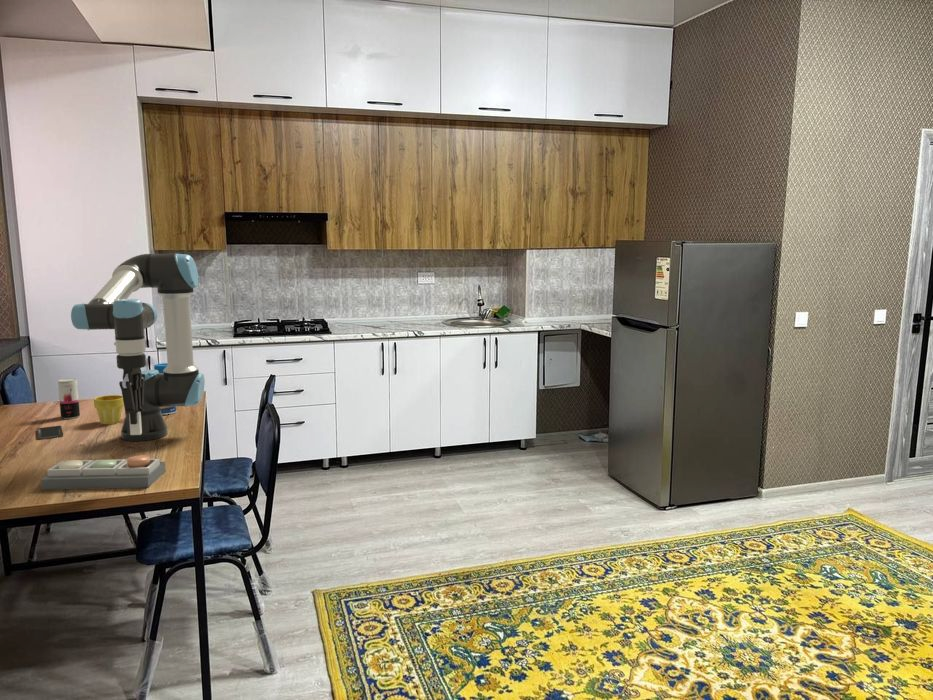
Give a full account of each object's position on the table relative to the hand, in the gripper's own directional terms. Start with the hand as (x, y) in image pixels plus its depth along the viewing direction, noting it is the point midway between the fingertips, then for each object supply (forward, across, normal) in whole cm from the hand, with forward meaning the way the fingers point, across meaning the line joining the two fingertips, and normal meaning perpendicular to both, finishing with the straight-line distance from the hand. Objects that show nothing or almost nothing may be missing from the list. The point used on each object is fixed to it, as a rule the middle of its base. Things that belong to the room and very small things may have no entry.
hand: (136, 434), depth 202 cm
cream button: (+10, 0, -19) cm, 22 cm away
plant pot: (+14, -68, -36) cm, 78 cm away
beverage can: (+14, -77, -55) cm, 96 cm away
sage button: (+10, 0, -9) cm, 14 cm away
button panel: (+14, 0, -10) cm, 17 cm away
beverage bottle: (+14, -82, -20) cm, 86 cm away
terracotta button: (+9, 0, 0) cm, 9 cm away
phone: (+14, -53, -51) cm, 75 cm away
